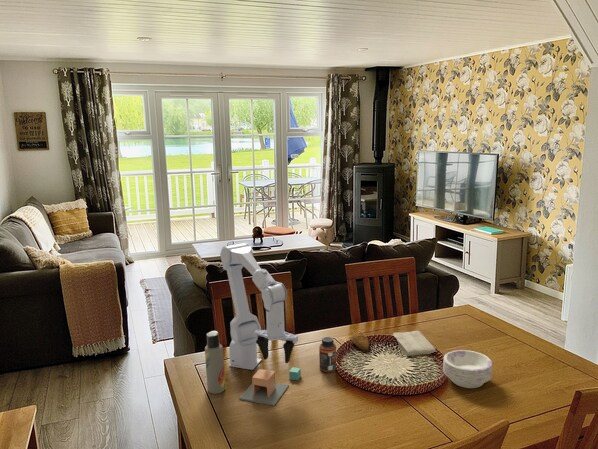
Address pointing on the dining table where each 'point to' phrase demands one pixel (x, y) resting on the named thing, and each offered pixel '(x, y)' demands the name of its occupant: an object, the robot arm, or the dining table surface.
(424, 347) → the washcloth
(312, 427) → the dining table surface
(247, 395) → the slate mat
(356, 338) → the croissant
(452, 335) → the dining table surface
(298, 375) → the teal cube
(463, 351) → the paper bowls
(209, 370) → the lotion bottle
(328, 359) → the supplement bottle
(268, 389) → the terracotta cover
